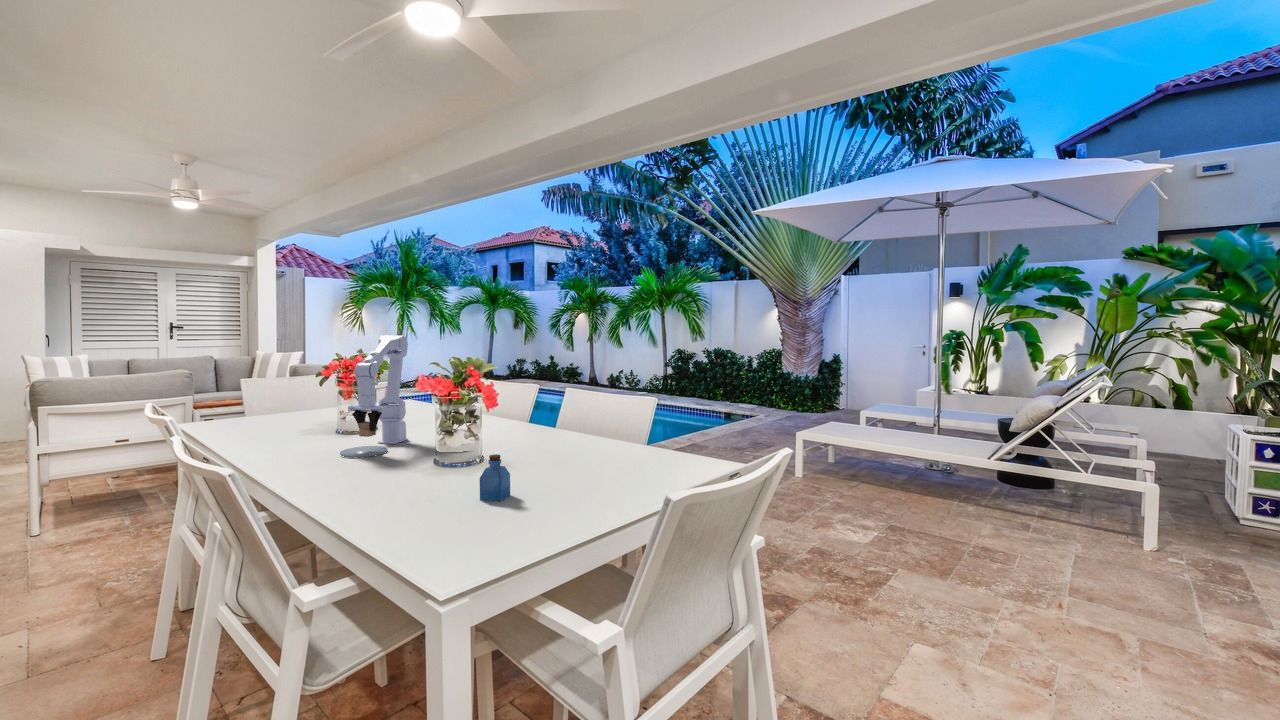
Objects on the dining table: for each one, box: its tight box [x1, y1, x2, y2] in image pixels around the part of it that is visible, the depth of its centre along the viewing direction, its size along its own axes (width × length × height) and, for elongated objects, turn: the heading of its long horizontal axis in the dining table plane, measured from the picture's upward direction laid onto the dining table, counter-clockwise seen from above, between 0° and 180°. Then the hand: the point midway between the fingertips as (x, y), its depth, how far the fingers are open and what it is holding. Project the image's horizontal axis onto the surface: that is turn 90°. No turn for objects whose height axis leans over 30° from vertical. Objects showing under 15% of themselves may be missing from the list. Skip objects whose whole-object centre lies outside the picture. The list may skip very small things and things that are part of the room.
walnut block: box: [358, 420, 377, 438], centre depth 210 cm, size 4×4×5 cm
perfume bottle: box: [479, 453, 511, 503], centre depth 157 cm, size 6×6×12 cm
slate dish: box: [339, 445, 388, 458], centre depth 211 cm, size 16×16×1 cm
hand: (367, 430), depth 210 cm, fingers closed on walnut block, 4 cm apart
